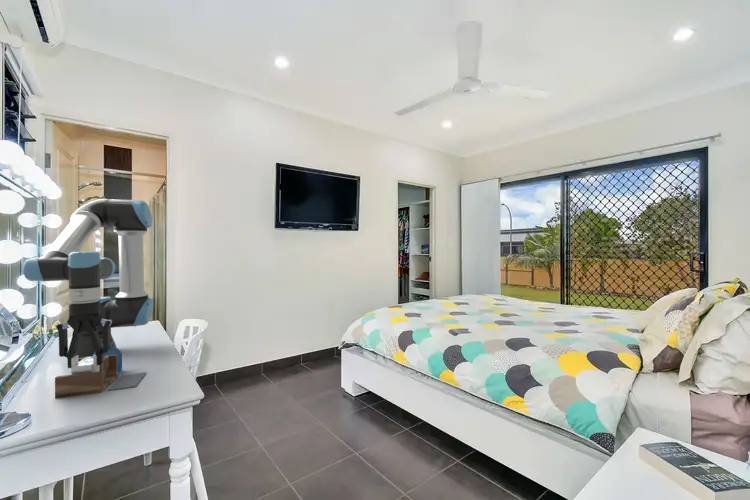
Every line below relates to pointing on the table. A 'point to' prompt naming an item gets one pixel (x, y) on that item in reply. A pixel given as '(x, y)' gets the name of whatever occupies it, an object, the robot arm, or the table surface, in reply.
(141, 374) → the slate pad
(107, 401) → the table surface
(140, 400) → the table surface
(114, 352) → the perfume bottle
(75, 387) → the pocket jig
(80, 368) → the bar
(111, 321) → the robot arm
